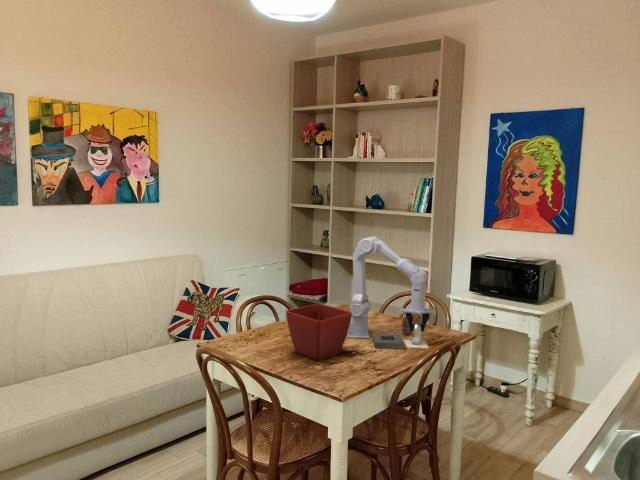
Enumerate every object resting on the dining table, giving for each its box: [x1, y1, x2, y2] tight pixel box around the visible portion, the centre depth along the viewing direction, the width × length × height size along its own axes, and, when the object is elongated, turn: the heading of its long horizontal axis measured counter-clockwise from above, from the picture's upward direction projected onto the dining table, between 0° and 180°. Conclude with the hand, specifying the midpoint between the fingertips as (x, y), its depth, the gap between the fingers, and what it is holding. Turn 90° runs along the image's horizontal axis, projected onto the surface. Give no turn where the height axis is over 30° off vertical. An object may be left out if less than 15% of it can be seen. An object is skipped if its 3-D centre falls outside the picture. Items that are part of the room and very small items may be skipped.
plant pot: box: [285, 303, 352, 361], centre depth 202 cm, size 19×19×17 cm
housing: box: [371, 333, 405, 350], centre depth 216 cm, size 12×12×2 cm
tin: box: [401, 314, 422, 336], centre depth 234 cm, size 15×3×8 cm, turn 143°
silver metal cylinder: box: [411, 322, 423, 344], centre depth 215 cm, size 4×4×8 cm
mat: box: [403, 339, 430, 349], centre depth 216 cm, size 9×9×1 cm
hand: (416, 331), depth 215 cm, fingers open, 4 cm apart
